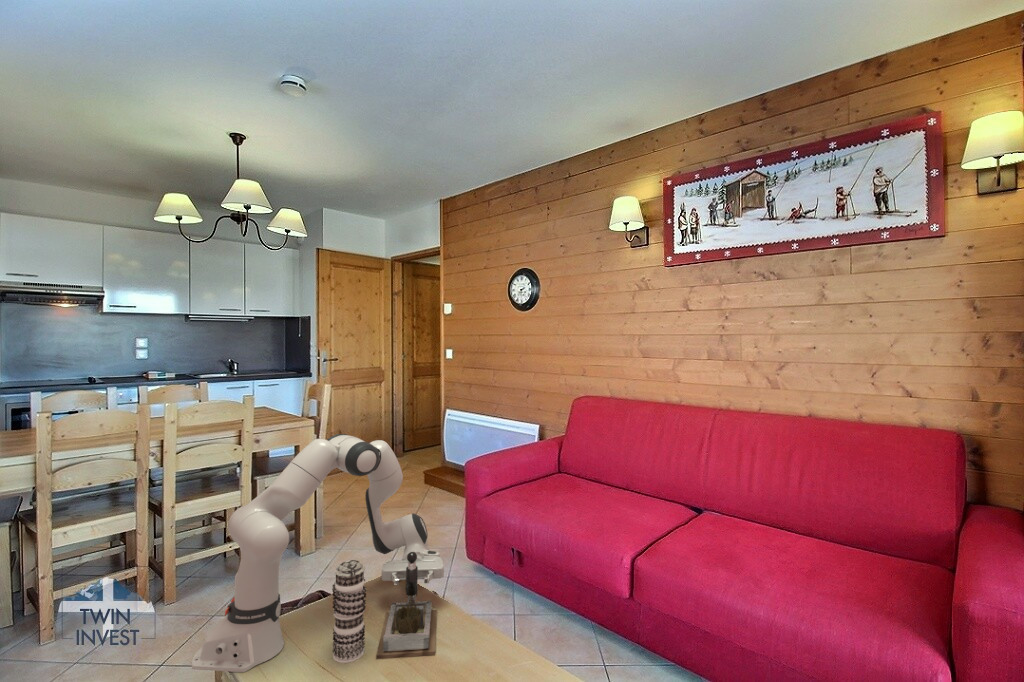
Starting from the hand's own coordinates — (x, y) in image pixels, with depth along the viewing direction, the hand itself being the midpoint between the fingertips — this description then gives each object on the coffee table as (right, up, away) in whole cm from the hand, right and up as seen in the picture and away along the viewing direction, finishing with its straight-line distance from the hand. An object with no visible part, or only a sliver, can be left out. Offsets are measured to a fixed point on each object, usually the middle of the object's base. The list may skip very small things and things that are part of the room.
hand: (411, 581), depth 155 cm
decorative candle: (-14, -11, -18) cm, 25 cm away
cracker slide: (+1, -10, -8) cm, 13 cm away
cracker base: (+1, -11, -8) cm, 14 cm away
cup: (+1, -12, -11) cm, 16 cm away
